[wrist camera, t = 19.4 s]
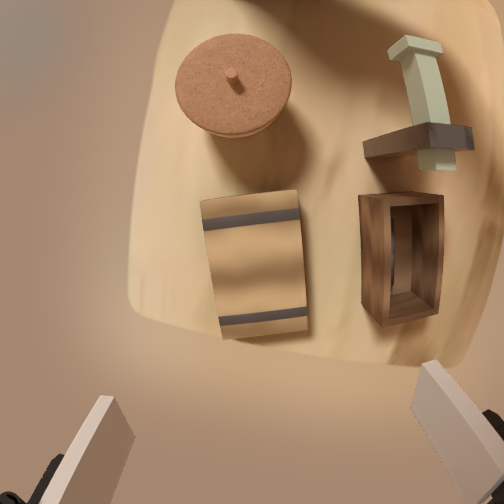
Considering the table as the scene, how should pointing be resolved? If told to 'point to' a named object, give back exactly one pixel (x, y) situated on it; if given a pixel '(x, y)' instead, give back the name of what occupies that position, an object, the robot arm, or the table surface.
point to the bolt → (424, 93)
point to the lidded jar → (233, 85)
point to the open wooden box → (401, 255)
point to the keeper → (420, 140)
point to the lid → (256, 263)
